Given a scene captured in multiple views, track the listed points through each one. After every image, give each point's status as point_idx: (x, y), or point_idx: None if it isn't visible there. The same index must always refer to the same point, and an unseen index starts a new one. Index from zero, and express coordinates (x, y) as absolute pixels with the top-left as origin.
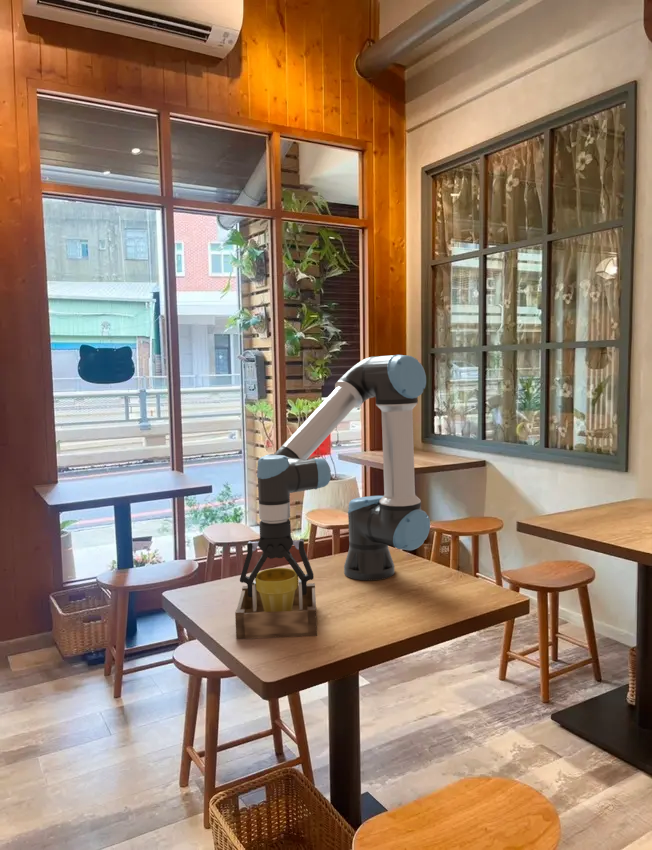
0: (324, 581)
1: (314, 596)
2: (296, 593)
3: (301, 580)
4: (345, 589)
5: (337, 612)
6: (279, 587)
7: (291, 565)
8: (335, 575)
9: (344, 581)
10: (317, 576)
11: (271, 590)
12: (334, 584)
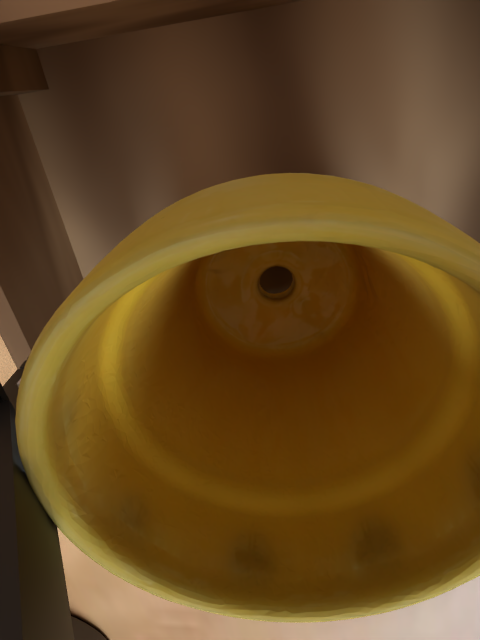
0: (160, 604)
1: (19, 358)
2: None
3: (4, 408)
4: (63, 552)
5: (7, 365)
6: (206, 198)
7: (6, 593)
8: (136, 635)
9: (90, 600)
10: (194, 633)
11: (321, 180)
12: (117, 585)
